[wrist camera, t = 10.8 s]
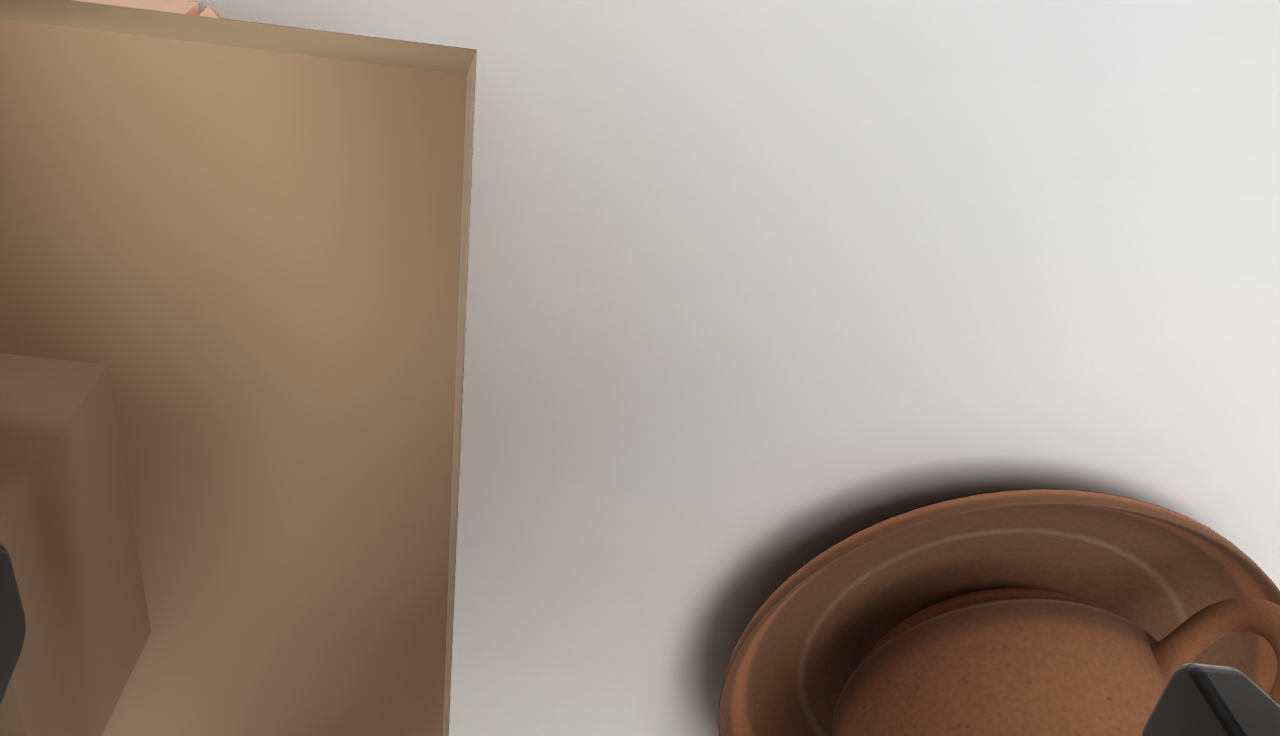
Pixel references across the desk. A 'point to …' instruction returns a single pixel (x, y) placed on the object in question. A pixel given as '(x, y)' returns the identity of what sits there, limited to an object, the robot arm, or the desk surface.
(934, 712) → the cup and saucer
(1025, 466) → the desk surface
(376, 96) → the lid
